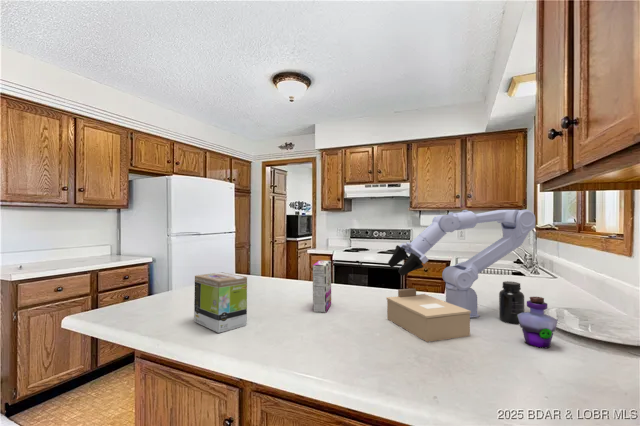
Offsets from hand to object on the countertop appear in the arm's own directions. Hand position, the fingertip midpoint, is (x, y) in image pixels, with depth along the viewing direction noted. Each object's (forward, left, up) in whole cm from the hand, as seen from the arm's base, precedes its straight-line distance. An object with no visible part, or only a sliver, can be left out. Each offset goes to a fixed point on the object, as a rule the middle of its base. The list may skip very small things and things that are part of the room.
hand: (394, 269), depth 104 cm
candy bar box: (+20, -17, -16) cm, 30 cm away
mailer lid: (-3, +11, -9) cm, 15 cm away
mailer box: (-3, +11, -15) cm, 19 cm away
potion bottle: (-22, +31, -16) cm, 42 cm away
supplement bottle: (-32, +15, -16) cm, 39 cm away
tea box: (+55, -11, -16) cm, 58 cm away
